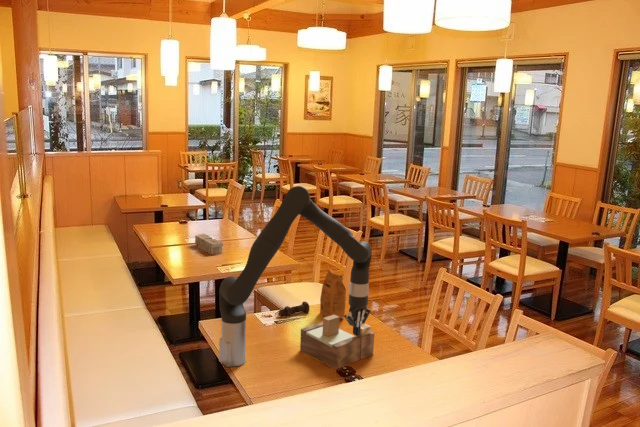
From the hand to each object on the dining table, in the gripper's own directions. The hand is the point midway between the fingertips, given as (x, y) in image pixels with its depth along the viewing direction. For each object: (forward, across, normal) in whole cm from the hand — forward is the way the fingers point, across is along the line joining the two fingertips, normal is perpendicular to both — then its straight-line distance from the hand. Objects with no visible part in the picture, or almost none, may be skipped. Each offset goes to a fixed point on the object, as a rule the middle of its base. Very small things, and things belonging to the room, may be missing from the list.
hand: (356, 334), depth 213 cm
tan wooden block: (+1, +4, 0) cm, 4 cm away
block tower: (+10, +37, +171) cm, 175 cm away
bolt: (+10, +10, +50) cm, 52 cm away
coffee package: (+10, +23, +38) cm, 45 cm away
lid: (+3, -6, +8) cm, 11 cm away
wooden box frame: (+10, -2, +9) cm, 13 cm away
